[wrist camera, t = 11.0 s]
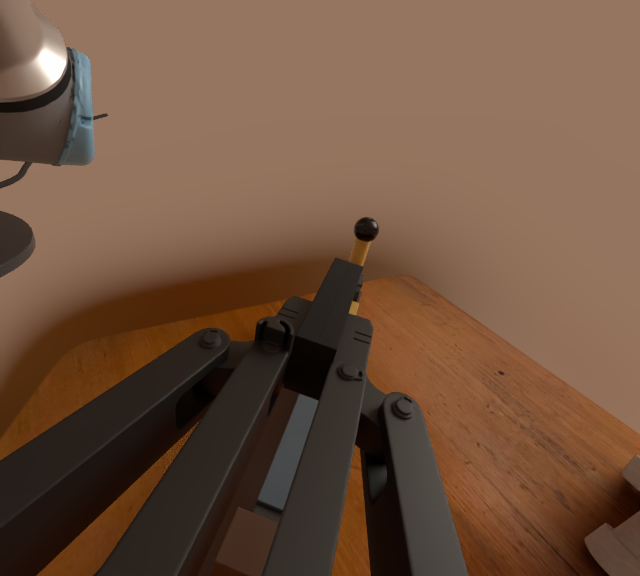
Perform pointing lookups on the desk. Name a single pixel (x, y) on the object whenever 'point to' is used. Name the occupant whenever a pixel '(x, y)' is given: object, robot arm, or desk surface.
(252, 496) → the sliding lever mechanism
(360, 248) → the bolt
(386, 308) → the desk surface
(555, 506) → the desk surface
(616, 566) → the handle
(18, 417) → the desk surface
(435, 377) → the desk surface
